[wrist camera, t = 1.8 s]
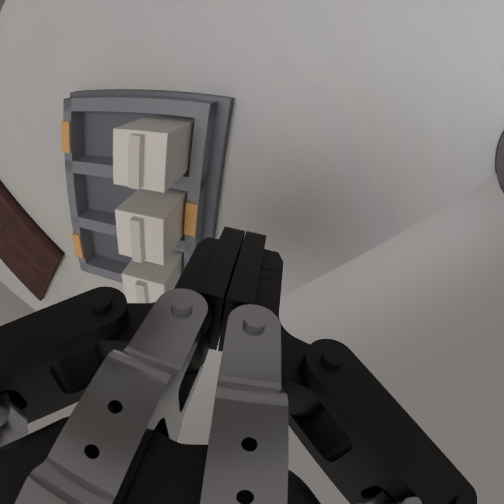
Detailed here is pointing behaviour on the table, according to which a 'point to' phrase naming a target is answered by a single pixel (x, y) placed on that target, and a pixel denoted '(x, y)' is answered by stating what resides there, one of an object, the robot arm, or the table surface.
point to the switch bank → (111, 195)
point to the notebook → (26, 246)
